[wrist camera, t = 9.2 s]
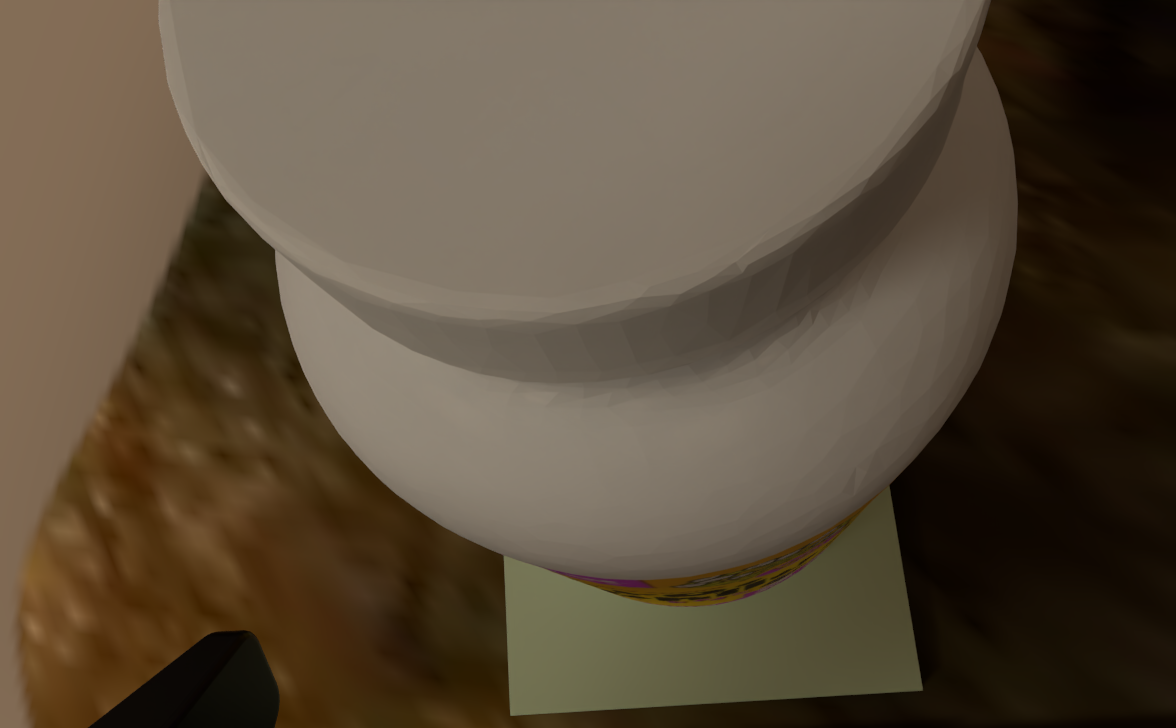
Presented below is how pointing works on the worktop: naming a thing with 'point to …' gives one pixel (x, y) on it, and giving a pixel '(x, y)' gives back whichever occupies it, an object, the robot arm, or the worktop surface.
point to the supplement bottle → (620, 256)
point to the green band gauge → (718, 635)
